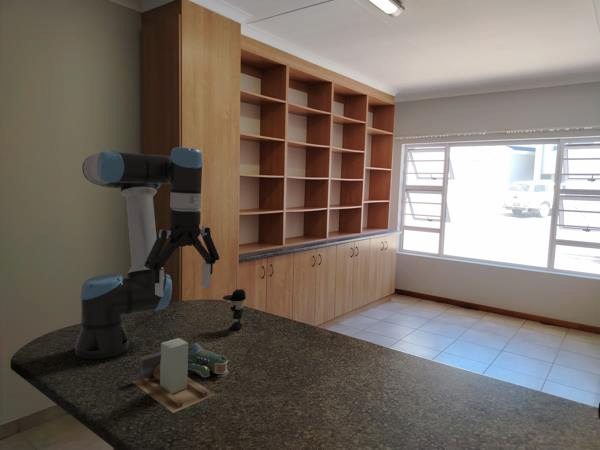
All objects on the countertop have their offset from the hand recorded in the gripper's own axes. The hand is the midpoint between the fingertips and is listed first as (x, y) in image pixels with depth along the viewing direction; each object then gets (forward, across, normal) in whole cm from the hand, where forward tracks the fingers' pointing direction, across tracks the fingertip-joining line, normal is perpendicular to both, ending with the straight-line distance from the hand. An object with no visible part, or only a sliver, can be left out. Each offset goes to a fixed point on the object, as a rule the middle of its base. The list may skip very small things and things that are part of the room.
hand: (183, 290), depth 106 cm
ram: (+24, -4, -2) cm, 25 cm away
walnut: (+25, -4, +3) cm, 25 cm away
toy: (+27, +36, +25) cm, 52 cm away
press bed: (+26, -4, -2) cm, 26 cm away
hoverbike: (+26, +7, +6) cm, 28 cm away
